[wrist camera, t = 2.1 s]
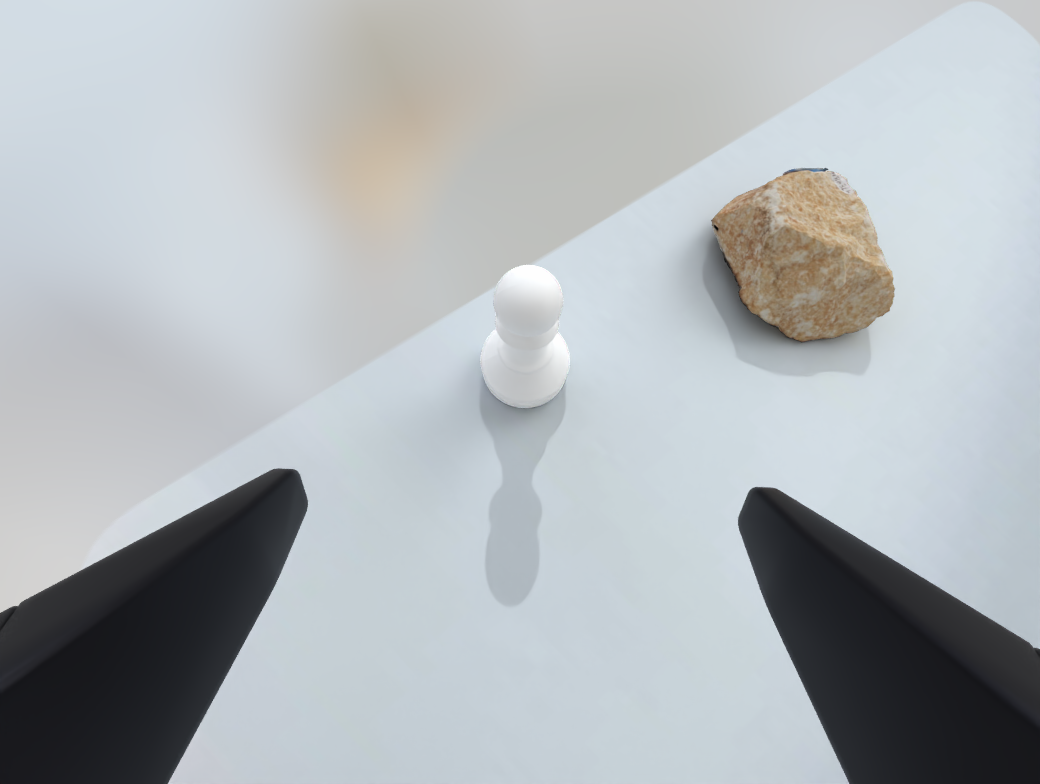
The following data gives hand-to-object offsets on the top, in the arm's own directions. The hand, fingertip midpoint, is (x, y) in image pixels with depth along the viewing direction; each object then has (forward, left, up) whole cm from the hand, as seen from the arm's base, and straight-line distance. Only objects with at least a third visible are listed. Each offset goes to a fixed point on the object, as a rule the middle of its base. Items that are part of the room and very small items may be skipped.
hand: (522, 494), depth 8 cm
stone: (+12, -19, -14) cm, 26 cm away
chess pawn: (+8, -1, -14) cm, 16 cm away
